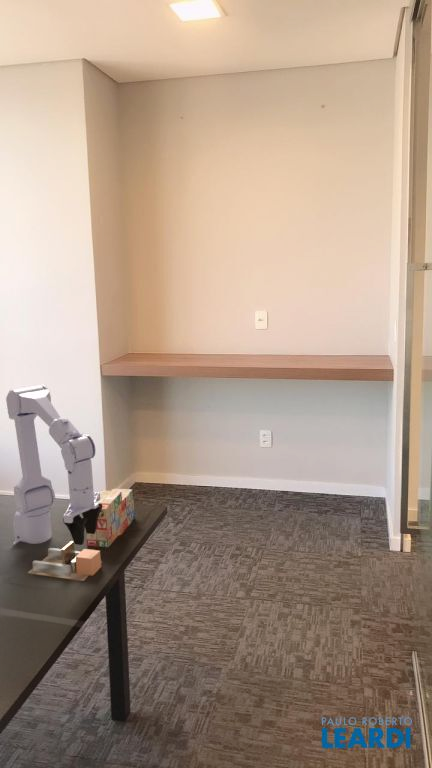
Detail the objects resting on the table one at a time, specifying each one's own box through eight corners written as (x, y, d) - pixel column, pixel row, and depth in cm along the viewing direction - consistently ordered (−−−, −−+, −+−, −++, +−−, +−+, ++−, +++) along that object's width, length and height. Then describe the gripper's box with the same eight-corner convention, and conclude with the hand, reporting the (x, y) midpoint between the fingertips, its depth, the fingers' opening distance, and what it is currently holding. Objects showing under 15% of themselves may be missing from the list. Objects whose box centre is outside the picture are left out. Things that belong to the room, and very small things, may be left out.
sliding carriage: (62, 570, 156) (60, 549, 154) (73, 560, 160) (71, 540, 159) (75, 572, 155) (73, 551, 153) (85, 562, 159) (83, 542, 158)
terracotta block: (76, 573, 155) (75, 556, 154) (85, 564, 159) (84, 548, 158) (92, 575, 154) (91, 558, 153) (101, 566, 158) (100, 550, 157)
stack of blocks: (115, 517, 190) (112, 478, 188) (135, 518, 189) (132, 479, 186) (86, 549, 170) (83, 506, 167) (108, 551, 168) (105, 508, 166)
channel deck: (27, 576, 156) (26, 563, 155) (49, 557, 165) (48, 545, 165) (83, 584, 152) (82, 571, 151) (103, 564, 161) (102, 552, 160)
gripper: (80, 498, 144) (85, 553, 147) (109, 477, 157) (113, 527, 160) (53, 496, 146) (58, 550, 149) (84, 474, 160) (88, 524, 162)
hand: (85, 538), depth 155 cm, fingers open, 5 cm apart
